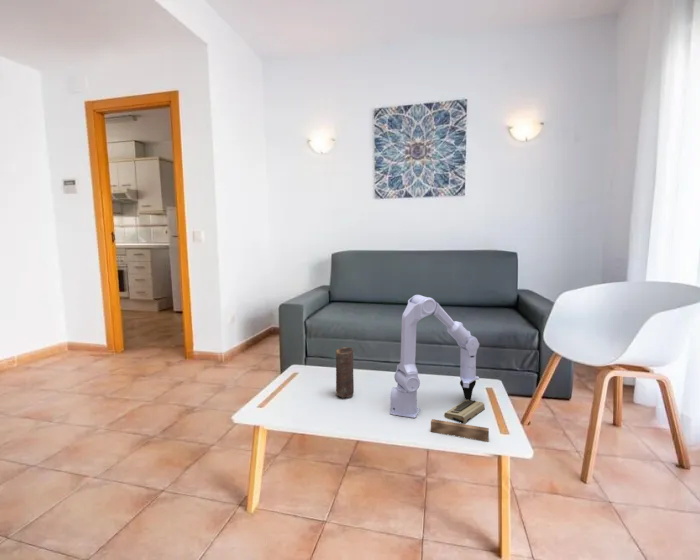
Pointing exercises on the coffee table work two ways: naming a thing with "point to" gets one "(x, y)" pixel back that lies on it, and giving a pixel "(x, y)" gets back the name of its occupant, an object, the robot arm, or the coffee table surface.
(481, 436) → the bar
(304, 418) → the coffee table surface
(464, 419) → the computer
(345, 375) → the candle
